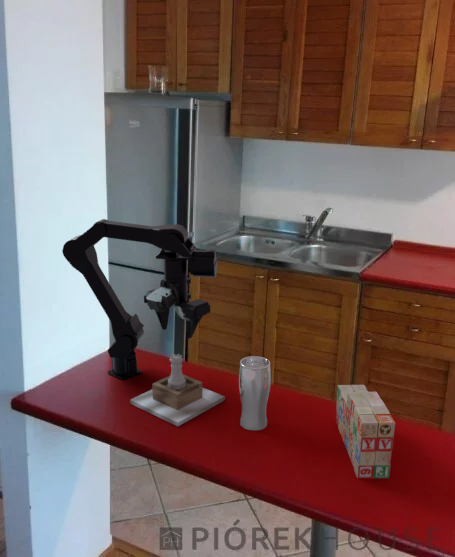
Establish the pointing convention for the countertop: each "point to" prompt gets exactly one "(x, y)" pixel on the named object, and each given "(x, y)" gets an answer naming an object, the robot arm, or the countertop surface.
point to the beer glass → (254, 391)
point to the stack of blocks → (365, 430)
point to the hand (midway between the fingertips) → (176, 333)
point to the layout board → (182, 412)
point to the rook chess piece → (176, 373)
